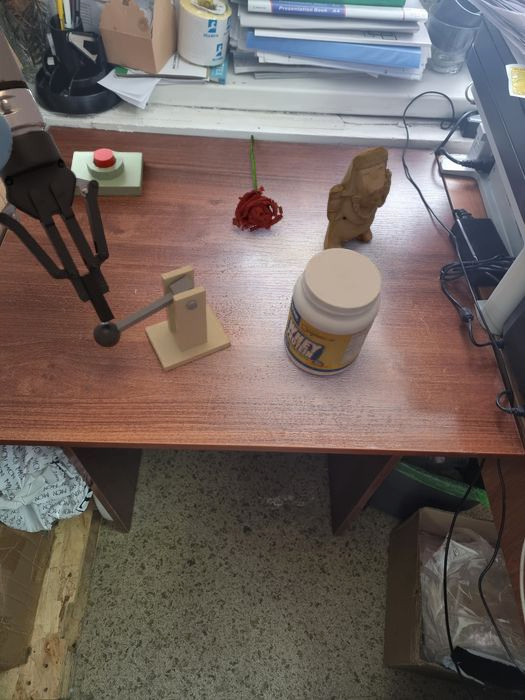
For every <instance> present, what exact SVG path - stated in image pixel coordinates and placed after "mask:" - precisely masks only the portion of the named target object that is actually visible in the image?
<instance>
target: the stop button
mask: <svg viewBox="0 0 525 700" xmlns="http://www.w3.org/2000/svg"><path fill="white" fill-rule="evenodd" d="M111 150H112V149H109V148H105V147H103V148H102V147H101V148H98V149H96V150H95V151H93V152H94V154H93V157H94V161H95V164H96V166H97V167H99V168H108V167H111V166H113V165H114V163H115V160H114V155H113V152H112V151H113V150H112V151H111Z"/></svg>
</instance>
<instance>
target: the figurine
mask: <svg viewBox="0 0 525 700" xmlns="http://www.w3.org/2000/svg"><path fill="white" fill-rule="evenodd" d="M388 160H389V151H388V149H386V148H385V147H384V146H382V145H379V146H375V147H371V148H366V149H363V150H362V151H360V152H359V153H357V154H356V155H354V157H353V158H352V159H351V160H350V161H351V162H350V163H349V165H348V167H347V169H346V173H345V175H344V176H343V178H342V180H341V181H340V183H337V184H335V185H333V186H332V187H331V188H330V189H329V192H328V198H327V206H326V219H327V221H328V224H327V228H326V232H325V234H324V235H325V236H324V240H323V250H327V249H332V248H342V249H343V245H342V244H344V243H347V242H349V241H351V240H352V239H359V240H361V241H362V242H364V243H369V242H371V241H372V240H373V237H374V236H373V233H372V229H371V226H372V225H373V223H374V221H375V217H376V213H377V211H378V209H379V208H382V207H383V206H384V205H385V204H386V200H387V198H388V195H389V194H390V190H391V185H392V176H393V172H392V171H391V170H390V169H389V168H387V166H388Z"/></svg>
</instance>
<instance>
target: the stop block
mask: <svg viewBox="0 0 525 700" xmlns="http://www.w3.org/2000/svg"><path fill="white" fill-rule="evenodd" d="M110 150H111V151H112V152H113V155H114V160H115V163H114V165H113V166H111V167H108V168H99V167H97V166H96V164H95V161H94V157H93V154H94V152H95V151H73V156H72V161H71V168H70V170H71V171H73V172H74V174H75V175H76V178H80V179H84V180H88V181H91V180H96V181H97V182H98V183H99V190H98V197H99V196H101V197H102V196H107V197H108V196H109V197H110V196H113V197H114V196H115V197H121V196H122V197H123V196H124V197H125V196H128V197H129V196H130V197H131V196H134V197H135V196H138V197H141V196H142V194H143V179H144V178H143V177H144V156H143V155H144V154H143V152H142V151H141V152H140V151H139V152H137V151H136V152H133V151H131V152H129V151H126V152H125V151H121V152H120V151H114V150H112V149H110ZM75 196H76V197H77V196H79V197H81V195H80V193H79V189H78V188H77V187H76V188H75V194H74V197H75Z"/></svg>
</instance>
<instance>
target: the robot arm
mask: <svg viewBox="0 0 525 700" xmlns="http://www.w3.org/2000/svg"><path fill="white" fill-rule="evenodd" d="M46 127H47V122H46V120H45V119H44V116H43V114H42V112H41V110H40V108H39V106H38V104H37V102H36V99H35V98H34V96H33V93H32V92H31V89H30V87H29V85H28V84H27V81H26V79H25V76H24V75H23V72H22V70H21V68H20V65H19V63H18V61H17V60H16V57H15V55H14V53H13V51H12V49H11V46H10V44H9V42H8V40H7V38H6V35H5V31H4V29H3V27H2V25H0V180H1V182H2V184H3V186H4V189H5V199H6V202H7V203H6V204H5V205H4V206H3V208H2V210H1V212H0V225H1V226H2V227H4V228H6V229H7V230H9V231H11V233H13V234H14V235H15V236H16V238H17V239H18V240H19V241H20V242H21V243H22V244H23V246H24V247H25V248H26V249H27V250H28V252H30V253H31V254H32V256H33V257H34V259H36V260H37V261H38V263H39V264H40V265H41V266H42V267H43V269H44V270H45V271H46V272H47V273H48V274H49V276H50V277H51V278H52V279H54V280H67V281H69V282H70V283H71V285H72V286H73V288H74V290H75V292H76V294H77V296H78V298H79V300H80V301H82V302H83V303H87V302H88V301H90V303H91V305H92V307H93V309H94V311H95V314H96V315H97V317H98V319H99V321H100V323H101V322H103V323H106V322H108V321H110V322H111V321H113V320H115V319H116V318H115V316H114V314H113V312H112V309H111V308H110V305H109V304H108V301H107V299H106V297H105V296H104V294H107V293H109V292H110V286H109V284H108V282H107V281H106V279H105V276H104V274H103V272H102V270H101V266H102V264H103V263H105V261H107V260H108V259H109V258H110V252H109V247H108V242H107V239H106V233H105V229H104V225H103V224H104V223H103V219H102V215H101V211H100V206H99V201H98V197H99V196H98V190H99V183H98V182H97V181H96V180H91V181H88V180H84V179H80V178H76V175H75V174H74V172H73V171H71V168H70V167H68V165H67V164H66V162H65V160H64V158H63V156H62V153H61V151H60V150H59V148H58V146H57V144H56V141H55V139H54V137H53V135H52V133H51V132H49V131H48V130H45V129H46ZM76 187H77V188H78V189H79V193H80V195H81V196H80V197H81V198H84V206H85V210H86V216H87V219H88V220H87V221H88V225H89V229H90V234H91V238H92V241H93V246H94V251H95V254H94V252H93V250H92V248H91V246H90V244H89V242H88V240H87V237H86V236H85V234H84V232H83V229H82V228H81V226H80V224H79V222H78V219H77V218H76V215H75V212H74V210H73V208H72V207H73V204H74V200H75V196H74V194H75V188H76ZM17 210H18V211H20V212H21V213H24V214H25V215H27V216H28V217H31V218H32V219H34V220H37V221H39V224H40V226H41V228H42V229H43V231H44V232H45V234H46V236H47V239H48V240H49V242H50V244H51V247H52V248H53V250H54V253H55V254H56V256H57V258H58V260H59V262H60V264H61V266H62V267H63V268H62V269H61V268H60V267H59V266H58V265H57V264H56V263H55V261H54V260H53V259H52V258H51V257H50V256H49V255H48V253H47V252H46V251H45V250H44V249H43V248H42V246H41V245H40V243H38V242H37V240H36V239H35V237H33V235H31V233H30V232H29V231H28V230H27V228H26V227H24V225H23V224H22V223H20V219H21V217H20V215H19V214H18V212H17ZM57 215H59V217H60V219H61V221H62V222H63V224H64V225H65V228H66V230H67V231H68V233H69V235H70V238H71V239H72V242H73V244H74V246H75V248H76V250H77V252H78V253H79V256H80V257H81V260H82V262H83V264H84V266H85V268H86V269H87V270H88V272H86V273H83V274H82V275H81V274H80V271H79V269H78V267H77V265H76V263H75V261H74V259H73V257H72V256H71V253H70V251H69V249H68V247H67V245H66V243H65V241H64V238H63V237H62V235H61V233H60V231H59V229H58V227H57V224H56V223H55V219H54V218H53V217H54V216H57Z"/></svg>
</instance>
